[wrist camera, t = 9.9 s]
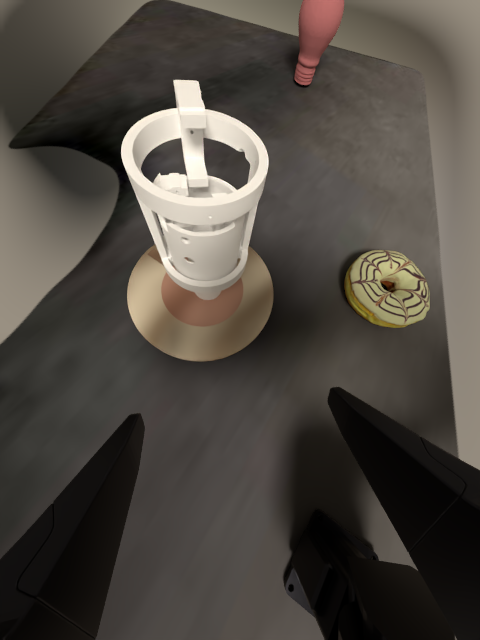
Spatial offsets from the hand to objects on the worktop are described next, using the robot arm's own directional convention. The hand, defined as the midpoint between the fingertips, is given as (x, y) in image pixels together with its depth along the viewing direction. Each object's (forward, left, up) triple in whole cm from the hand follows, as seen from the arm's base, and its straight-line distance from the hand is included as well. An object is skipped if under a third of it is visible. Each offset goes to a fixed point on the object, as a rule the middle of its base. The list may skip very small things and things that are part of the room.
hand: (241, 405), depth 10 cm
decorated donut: (-9, -22, -14) cm, 28 cm away
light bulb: (+23, -58, -13) cm, 64 cm away
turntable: (+9, -8, -12) cm, 17 cm away
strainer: (+9, -8, -11) cm, 16 cm away
